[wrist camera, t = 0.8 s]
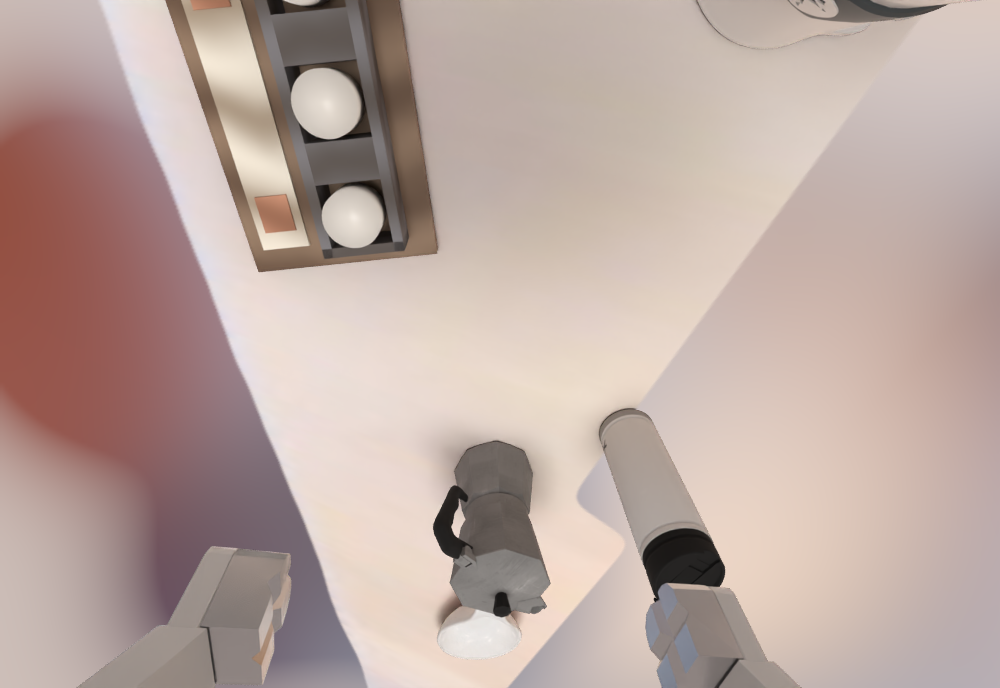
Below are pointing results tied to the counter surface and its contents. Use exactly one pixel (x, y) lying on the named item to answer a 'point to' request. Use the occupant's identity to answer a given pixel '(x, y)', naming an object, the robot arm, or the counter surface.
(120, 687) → the robot arm
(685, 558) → the travel mug
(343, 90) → the button middle
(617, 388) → the counter surface
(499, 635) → the spoon rest
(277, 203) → the button board
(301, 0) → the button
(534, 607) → the coffeepot
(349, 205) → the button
